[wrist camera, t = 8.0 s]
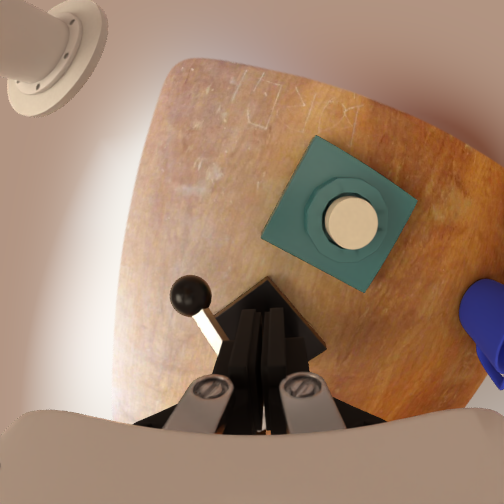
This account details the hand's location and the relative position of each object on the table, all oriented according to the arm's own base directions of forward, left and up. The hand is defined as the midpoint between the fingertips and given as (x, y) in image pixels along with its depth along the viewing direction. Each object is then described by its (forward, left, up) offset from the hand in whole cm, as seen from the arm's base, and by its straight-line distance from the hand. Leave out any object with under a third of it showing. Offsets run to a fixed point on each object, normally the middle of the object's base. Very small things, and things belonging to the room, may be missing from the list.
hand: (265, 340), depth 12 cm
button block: (+4, +6, -16) cm, 18 cm away
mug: (+27, +5, -17) cm, 32 cm away
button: (+4, +6, -13) cm, 15 cm away
